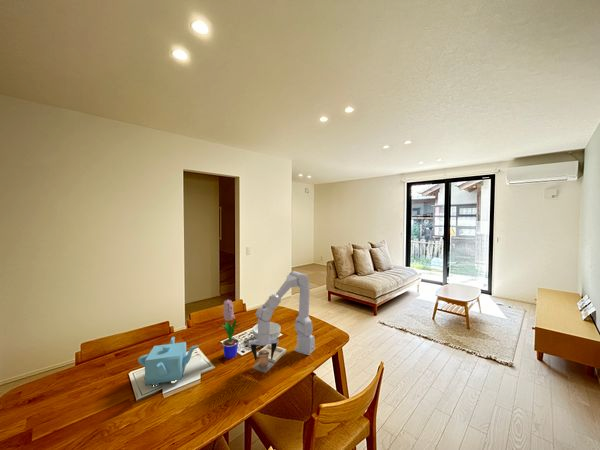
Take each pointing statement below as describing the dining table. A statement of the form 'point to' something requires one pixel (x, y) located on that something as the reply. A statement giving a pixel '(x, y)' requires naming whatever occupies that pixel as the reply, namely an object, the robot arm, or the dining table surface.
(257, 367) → the coaster
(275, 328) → the cereal bowl
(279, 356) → the square beige tray
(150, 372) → the teakettle
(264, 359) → the pot
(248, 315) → the dining table surface
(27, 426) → the dining table surface
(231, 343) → the hyacinth
